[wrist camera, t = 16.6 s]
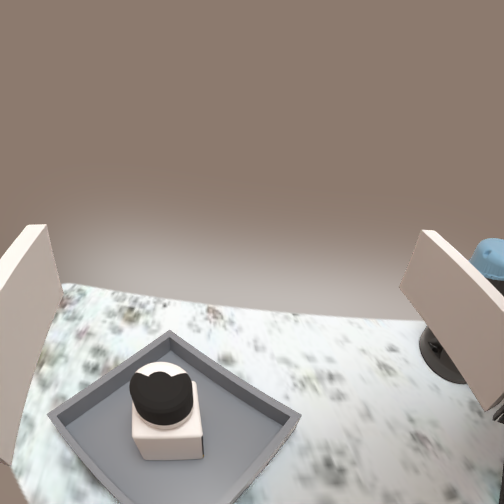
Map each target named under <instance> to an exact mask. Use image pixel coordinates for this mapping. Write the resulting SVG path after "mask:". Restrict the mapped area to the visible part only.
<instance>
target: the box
mask: <svg viewBox="0 0 504 504" xmlns="http://www.w3.org/2000/svg"><path fill="white" fill-rule="evenodd" d="M154 362H168V363H172V364H175V365H177V366H179V367H181V368H182V369H183V370H184V371H186V373H187V374H188V375H189V377H190V379H191V381H195V382H196V384H197V393H198V401H199V409H200V417H201V425H202V432H203V447H204V457H203V458H202V459H187V460H145V459H143V457H142V455H141V453H140V451H139V449H138V447H137V445H136V443H135V441H134V439H133V437H132V398H131V395H130V391H129V385H130V380H131V378H132V376H133V375H134V373H135V372H136V371H137V370H138V369H140V368H141V367H143V366H145V365H147V364H150V363H154ZM47 415H48V417H49V418H50V420H51V421H52V423H53V424H54V425H55V427H56V428H57V430H58V431H59V432H60V434H61V435H62V436H63V438H64V439H65V440H66V442H67V443H68V444H69V445H70V447H71V448H72V449H73V451H74V452H75V453H76V454H77V455H78V457H79V458H80V459H81V460H82V462H83V463H84V464H85V465H86V466H87V467H88V469H89V470H90V471H91V472H92V473H93V474H94V475H95V476H96V478H97V479H98V480H99V481H100V482H101V483H102V484H103V485H104V486H105V487H106V488H107V489H108V490H109V491H110V492H111V493H112V494H113V496H114V497H115V498H116V499H117V500H118V501H120V502H121V503H122V504H233V503H234V502H235V501H236V500H237V499H238V498H239V497H240V496H241V495H242V493H243V492H244V491H245V490H246V489H247V488H248V487H249V486H250V484H251V483H252V482H253V481H254V480H255V479H256V477H257V476H258V475H259V474H260V473H261V472H262V470H263V469H264V468H265V467H266V466H267V464H268V463H269V462H270V461H271V459H272V458H273V457H274V456H275V454H276V453H277V452H278V451H279V449H280V448H281V447H282V446H283V444H284V443H285V442H286V440H287V439H288V438H289V436H290V435H291V434H292V432H293V431H294V430H295V428H296V426H297V424H298V422H299V420H300V418H301V416H302V415H301V414H299V413H297V412H296V411H294V410H292V409H290V408H289V407H287V406H285V405H283V404H282V403H280V402H278V401H276V400H275V399H273V398H271V397H270V396H268V395H266V394H265V393H263V392H261V391H260V390H258V389H257V388H255V387H253V386H252V385H250V384H248V383H247V382H245V381H244V380H242V379H241V378H239V377H237V376H236V375H234V374H233V373H231V372H230V371H228V370H227V369H225V368H224V367H222V366H221V365H219V364H218V363H216V362H215V361H213V360H212V359H210V358H209V357H207V356H206V355H204V354H203V353H201V352H200V351H199V350H197V349H196V348H194V347H193V346H191V345H190V344H189V343H187V342H186V341H184V340H183V339H182V338H180V337H179V336H177V335H176V334H175V333H173V332H172V331H171V330H169V331H167V332H166V333H164V334H163V335H162V336H160V337H159V338H157V339H156V340H154V341H153V342H152V343H150V344H149V345H147V346H146V347H144V348H143V349H141V350H140V351H139V352H137V353H136V354H134V355H133V356H131V357H130V358H129V359H127V360H126V361H124V362H123V363H121V364H120V365H118V366H117V367H116V368H114V369H113V370H111V371H110V372H108V373H107V374H105V375H104V376H102V377H101V378H100V379H98V380H97V381H95V382H94V383H92V384H91V385H89V386H88V387H86V388H85V389H83V390H82V391H80V392H79V393H78V394H76V395H75V396H73V397H72V398H70V399H69V400H67V401H66V402H64V403H63V404H61V405H60V406H58V407H57V408H55V409H54V410H52V411H51V412H49V413H48V414H47Z"/></svg>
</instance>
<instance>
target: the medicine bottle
mask: <svg viewBox="0 0 504 504" xmlns="http://www.w3.org/2000/svg"><path fill="white" fill-rule="evenodd" d="M129 391H130V395H131V398H132V437H133V439H134V441H135V443H136V445H137V447H138V449H139V451H140V453H141V455H142V457H143V459H145V460H187V459H202V458H203V457H204V447H203V432H202V425H201V417H200V409H199V401H198V393H197V384H196V382H195V381H191V379H190V377H189V375H188V374H187V373H186V371H184V370H183V369H182V368H181V367H179V366H177V365H175V364H172V363H168V362H154V363H150V364H147V365H145V366H143V367H141V368H140V369H138V370H137V371H136V372H135V373H134V375H133V376H132V378H131V380H130V385H129Z"/></svg>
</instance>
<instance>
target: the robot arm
mask: <svg viewBox="0 0 504 504" xmlns="http://www.w3.org/2000/svg"><path fill="white" fill-rule="evenodd" d="M399 288H400V290H401V291H402V292H403V293H404V295H405V296H406V297H407V299H408V300H409V301H410V303H411V304H412V305H413V307H414V308H415V309H416V311H417V312H418V313H419V314H420V316H421V317H422V318H423V320H424V321H425V323H426V324H427V327H426V328H425V330H424V332H423V334H422V335H421V338H420V350H421V353H422V355H423V357H424V359H425V361H426V362H427V364H428V365H429V366H430V367H431V368H432V369H433V370H434V371H435V372H436V373H437V374H439V375H440V376H441V377H443V378H445V379H447V380H449V381H452V382H455V383H467V384H468V385H469V387H470V389H471V390H472V392H473V393H474V395H475V397H476V398H477V400H478V401H479V403H480V405H481V406H482V408H483V410H484V411H485V412H486V411H488V410H489V409H491V408H493V407H495V406H496V405H498V404H499V403H500V402H501V401H502V399H503V398H504V240H502V239H497V238H495V239H493V238H489V239H485V240H483V241H481V242H480V243H479V244H478V246H477V248H476V249H475V251H474V253H473V255H472V258H470V260H469V261H468V260H466V259H465V258H464V257H463V256H462V255H461V254H460V253H459V252H458V251H457V250H456V249H455V248H453V247H452V246H451V245H450V244H449V243H448V242H447V241H446V240H445V239H443V238H442V237H441V236H440V235H439V234H438V233H437V232H436V231H433V230H421V232H420V234H419V237H418V240H417V243H416V246H415V248H414V251H413V253H412V256H411V259H410V261H409V264H408V266H407V269H406V271H405V274H404V277H403V279H402V281H401V283H400V286H399ZM63 294H64V292H63V289H62V286H61V282H60V279H59V275H58V271H57V268H56V263H55V260H54V256H53V251H52V247H51V243H50V238H49V234H48V229H47V225H46V224H44V225H27V226H26V228H25V229H24V230H23V231H22V233H21V234H20V235H19V236H18V237H17V239H16V240H15V241H14V242H13V244H12V245H11V246H10V247H9V249H8V250H7V251H6V253H5V254H4V255H3V257H2V258H1V259H0V463H2V464H5V465H8V466H11V465H12V459H13V454H14V448H15V443H16V439H17V434H18V430H19V425H20V421H21V417H22V413H23V409H24V405H25V402H26V398H27V395H28V391H29V388H30V384H31V381H32V378H33V374H34V371H35V368H36V365H37V362H38V359H39V356H40V353H41V350H42V348H43V345H44V342H45V339H46V337H47V334H48V331H49V329H50V326H51V323H52V321H53V318H54V316H55V313H56V311H57V309H58V306H59V304H60V301H61V299H62V297H63ZM502 413H504V405H503V406H502V407H501V408H500V409H499V410H498V411H497V412H496V413H495V414H494V416H493V420H494V421H495V420H496V419H497V418H498V417H499V416H500V415H501V414H502ZM498 422H500V423H503V424H504V414H503V415H502V416H501V417H500V418H499V420H498ZM499 504H504V466H503V476H502V485H501V492H500V499H499Z"/></svg>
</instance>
